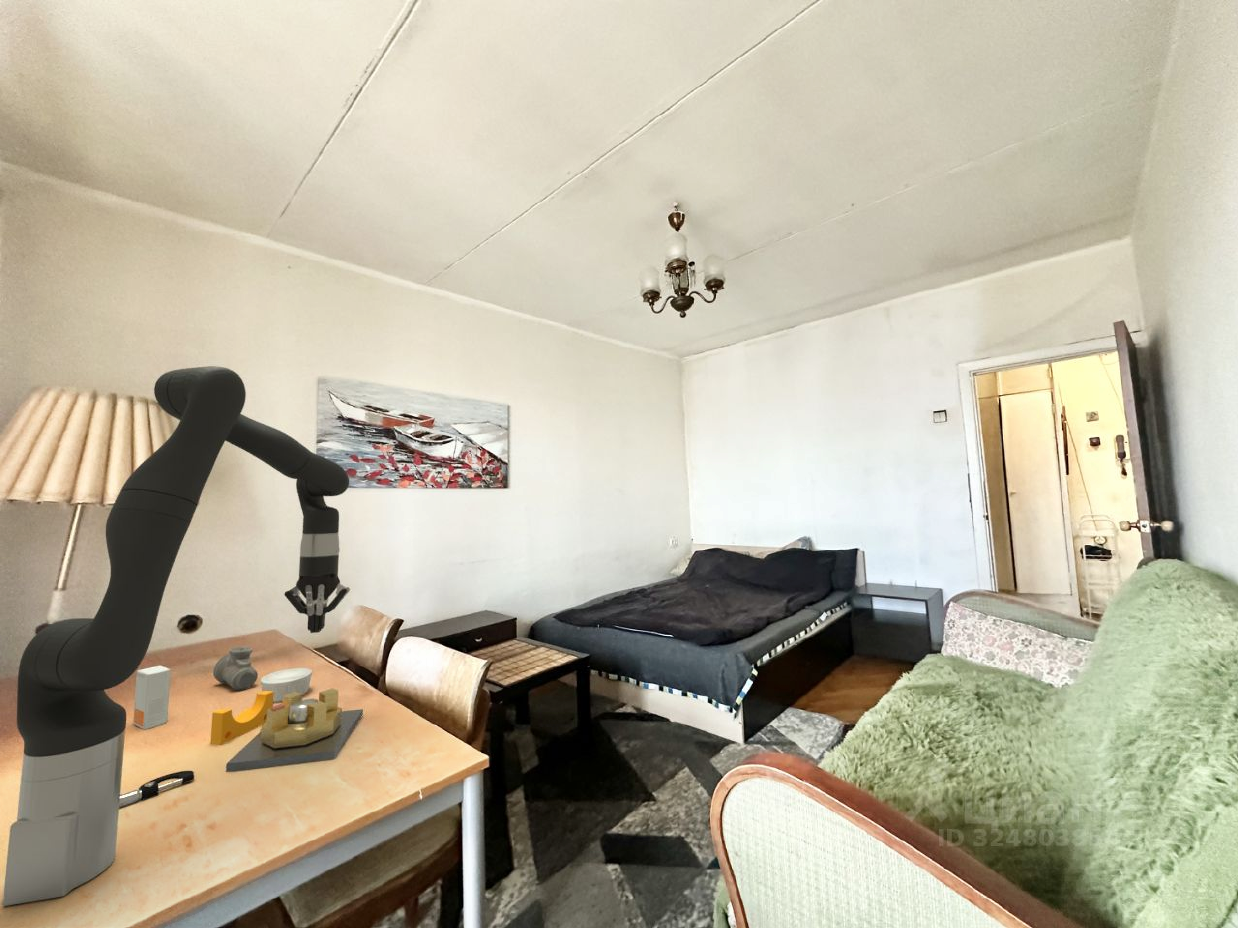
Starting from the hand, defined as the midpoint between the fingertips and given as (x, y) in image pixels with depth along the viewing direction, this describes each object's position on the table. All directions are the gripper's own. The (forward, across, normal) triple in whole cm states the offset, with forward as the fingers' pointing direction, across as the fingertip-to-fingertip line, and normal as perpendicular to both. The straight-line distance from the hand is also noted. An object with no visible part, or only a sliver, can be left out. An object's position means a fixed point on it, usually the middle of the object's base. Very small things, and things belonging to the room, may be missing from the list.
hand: (316, 631), depth 107 cm
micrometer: (+22, -20, -19) cm, 35 cm away
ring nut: (+19, 0, -5) cm, 20 cm away
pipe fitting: (+21, -30, +35) cm, 51 cm away
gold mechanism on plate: (+21, 0, -5) cm, 22 cm away
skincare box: (+21, -37, +13) cm, 45 cm away
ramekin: (+21, -14, +24) cm, 35 cm away
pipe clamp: (+21, -15, +4) cm, 27 cm away
